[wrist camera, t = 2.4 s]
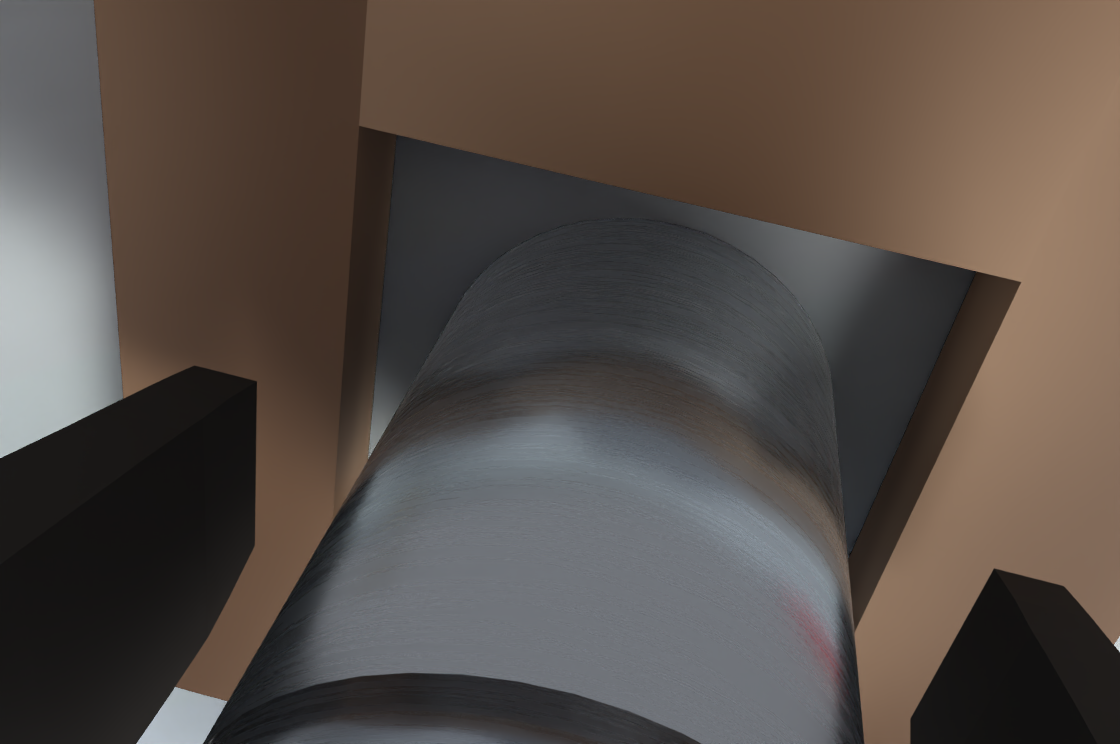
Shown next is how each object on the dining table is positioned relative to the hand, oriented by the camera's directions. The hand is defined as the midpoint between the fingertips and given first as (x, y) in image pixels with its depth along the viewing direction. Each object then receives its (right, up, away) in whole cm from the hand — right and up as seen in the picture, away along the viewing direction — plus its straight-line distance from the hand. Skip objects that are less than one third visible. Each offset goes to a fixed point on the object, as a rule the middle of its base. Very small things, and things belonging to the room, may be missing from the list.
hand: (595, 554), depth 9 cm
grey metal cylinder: (+1, +1, +2) cm, 3 cm away
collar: (0, +1, +2) cm, 3 cm away
